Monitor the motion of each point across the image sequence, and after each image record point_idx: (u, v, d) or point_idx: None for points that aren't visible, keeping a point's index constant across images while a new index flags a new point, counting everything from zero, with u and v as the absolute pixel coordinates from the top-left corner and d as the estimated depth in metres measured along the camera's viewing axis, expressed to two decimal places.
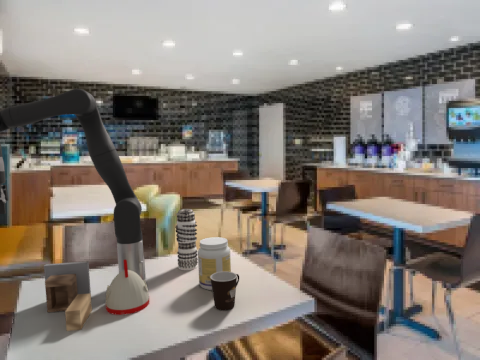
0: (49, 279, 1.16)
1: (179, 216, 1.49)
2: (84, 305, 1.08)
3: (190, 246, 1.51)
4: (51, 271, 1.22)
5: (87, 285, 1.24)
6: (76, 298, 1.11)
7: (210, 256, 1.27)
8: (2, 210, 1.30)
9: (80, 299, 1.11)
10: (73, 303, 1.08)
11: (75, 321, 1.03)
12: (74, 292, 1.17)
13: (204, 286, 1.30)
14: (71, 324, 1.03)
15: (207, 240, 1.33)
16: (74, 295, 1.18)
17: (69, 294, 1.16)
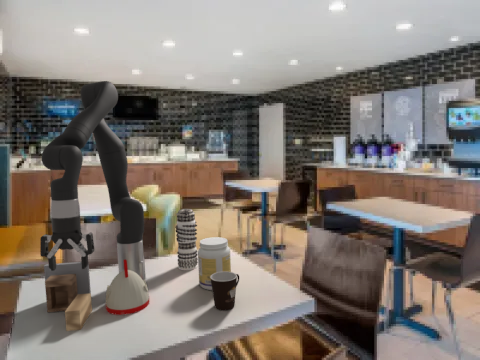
0: (49, 279, 1.16)
1: (179, 216, 1.49)
2: (84, 305, 1.08)
3: (190, 246, 1.51)
4: (51, 271, 1.22)
5: (87, 285, 1.24)
6: (76, 298, 1.11)
7: (210, 256, 1.27)
8: (55, 264, 1.05)
9: (80, 299, 1.11)
10: (73, 303, 1.08)
11: (75, 321, 1.03)
12: (74, 292, 1.17)
13: (204, 286, 1.30)
14: (71, 324, 1.03)
15: (207, 240, 1.33)
16: (74, 295, 1.18)
17: (69, 294, 1.16)
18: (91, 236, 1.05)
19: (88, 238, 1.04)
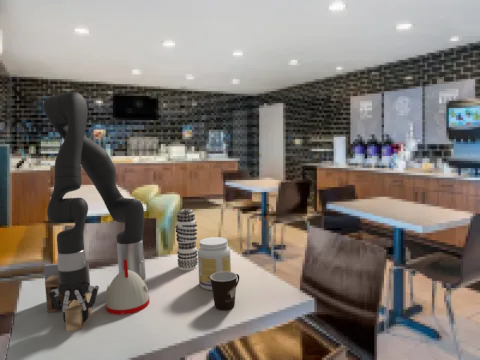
0: (49, 279, 1.16)
1: (179, 216, 1.49)
2: None
3: (190, 246, 1.51)
4: (51, 271, 1.22)
5: None
6: None
7: (210, 256, 1.27)
8: None
9: None
10: (73, 302, 1.08)
11: (75, 321, 1.03)
12: None
13: (204, 286, 1.30)
14: (71, 324, 1.03)
15: (207, 240, 1.33)
16: None
17: None
18: (97, 290, 1.06)
19: (94, 292, 1.05)
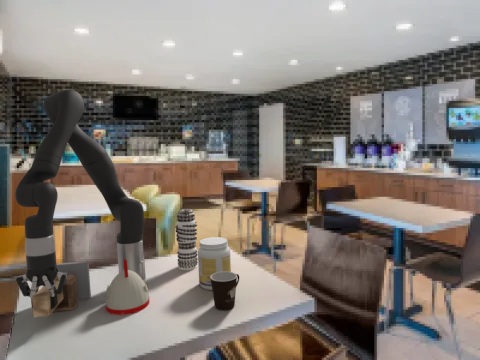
0: None
1: (179, 216, 1.49)
2: None
3: (190, 246, 1.51)
4: None
5: (87, 285, 1.24)
6: None
7: (210, 256, 1.27)
8: None
9: None
10: (42, 289, 1.06)
11: (42, 307, 1.02)
12: (74, 292, 1.17)
13: (204, 286, 1.30)
14: (38, 310, 1.02)
15: (207, 240, 1.33)
16: (74, 295, 1.18)
17: (69, 294, 1.16)
18: (66, 277, 1.05)
19: (62, 278, 1.04)
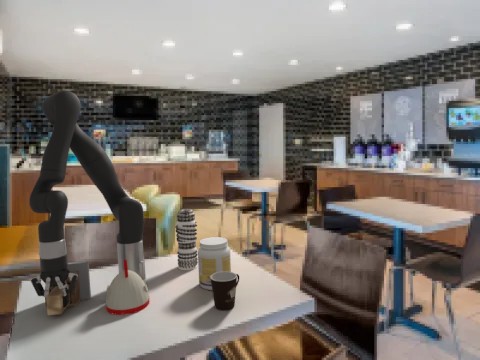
0: None
1: (179, 216, 1.49)
2: None
3: (190, 246, 1.51)
4: None
5: (87, 285, 1.24)
6: None
7: (210, 256, 1.27)
8: None
9: None
10: (54, 289, 1.15)
11: (55, 305, 1.10)
12: (76, 289, 1.20)
13: (204, 286, 1.30)
14: (52, 308, 1.10)
15: (207, 240, 1.33)
16: (77, 292, 1.20)
17: None
18: (77, 277, 1.13)
19: (73, 279, 1.12)
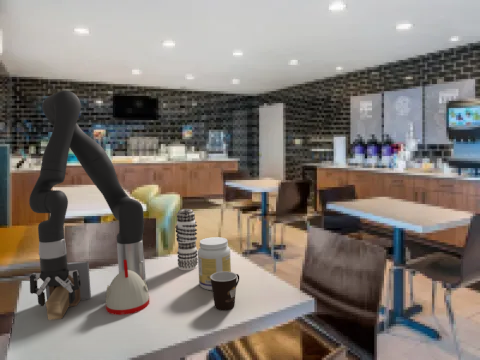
0: None
1: (179, 216, 1.49)
2: (64, 295, 1.14)
3: (190, 246, 1.51)
4: None
5: (87, 285, 1.24)
6: (57, 287, 1.17)
7: (210, 256, 1.27)
8: (44, 300, 1.13)
9: (61, 288, 1.17)
10: (54, 293, 1.14)
11: (56, 311, 1.10)
12: None
13: (204, 286, 1.30)
14: (52, 313, 1.10)
15: (207, 240, 1.33)
16: (77, 291, 1.21)
17: None
18: (77, 273, 1.13)
19: (75, 275, 1.12)
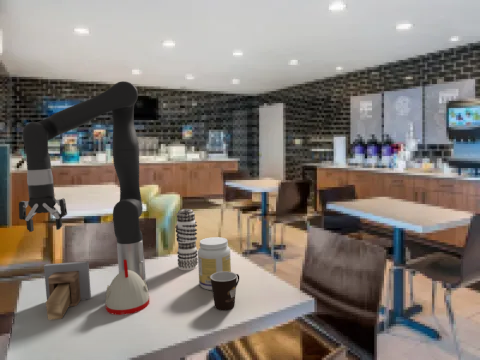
0: (52, 276, 1.18)
1: (179, 216, 1.49)
2: (64, 295, 1.14)
3: (190, 246, 1.51)
4: (51, 271, 1.22)
5: (87, 285, 1.24)
6: (57, 287, 1.17)
7: (210, 256, 1.27)
8: (32, 227, 1.21)
9: (61, 288, 1.17)
10: (54, 293, 1.14)
11: (56, 311, 1.10)
12: (76, 289, 1.20)
13: (204, 286, 1.30)
14: (52, 313, 1.10)
15: (207, 240, 1.33)
16: (77, 291, 1.21)
17: (71, 291, 1.18)
18: (64, 201, 1.22)
19: (61, 202, 1.21)
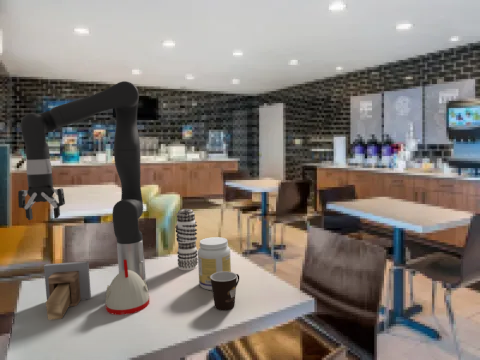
0: (52, 276, 1.18)
1: (179, 216, 1.49)
2: (64, 295, 1.14)
3: (190, 246, 1.51)
4: (51, 271, 1.22)
5: (87, 285, 1.24)
6: (57, 287, 1.17)
7: (210, 256, 1.27)
8: (31, 215, 1.25)
9: (61, 288, 1.17)
10: (54, 293, 1.14)
11: (56, 311, 1.10)
12: (76, 289, 1.20)
13: (204, 286, 1.30)
14: (52, 313, 1.10)
15: (207, 240, 1.33)
16: (77, 291, 1.21)
17: (71, 291, 1.18)
18: (61, 191, 1.25)
19: (59, 192, 1.24)
